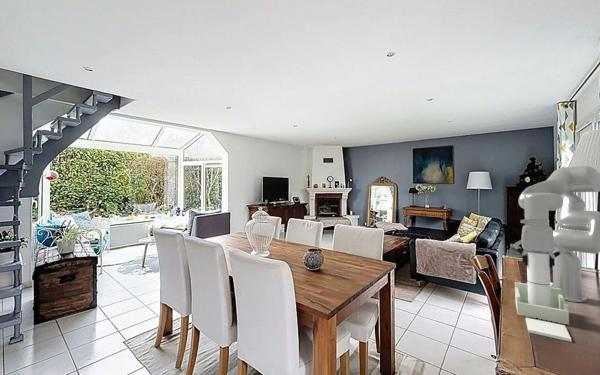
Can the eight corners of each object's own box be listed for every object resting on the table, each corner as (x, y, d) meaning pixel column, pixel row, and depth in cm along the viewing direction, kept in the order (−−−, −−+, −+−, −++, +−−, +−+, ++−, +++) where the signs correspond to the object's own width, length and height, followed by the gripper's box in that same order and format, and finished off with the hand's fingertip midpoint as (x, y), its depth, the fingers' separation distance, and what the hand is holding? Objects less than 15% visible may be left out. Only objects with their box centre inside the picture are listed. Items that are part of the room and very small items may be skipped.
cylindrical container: (529, 313, 110) (527, 252, 110) (527, 307, 115) (525, 249, 116) (553, 318, 105) (551, 254, 106) (549, 311, 111) (547, 251, 112)
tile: (525, 320, 104) (525, 317, 104) (564, 328, 98) (564, 325, 98) (528, 332, 96) (528, 329, 96) (571, 342, 89) (571, 339, 89)
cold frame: (515, 302, 121) (514, 282, 121) (561, 310, 112) (560, 288, 112) (517, 314, 109) (516, 292, 109) (569, 325, 100) (568, 300, 100)
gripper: (510, 223, 113) (511, 265, 113) (567, 225, 103) (569, 271, 103) (509, 221, 119) (511, 261, 119) (563, 223, 109) (565, 267, 109)
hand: (538, 265), depth 111 cm, fingers closed on cylindrical container, 7 cm apart
